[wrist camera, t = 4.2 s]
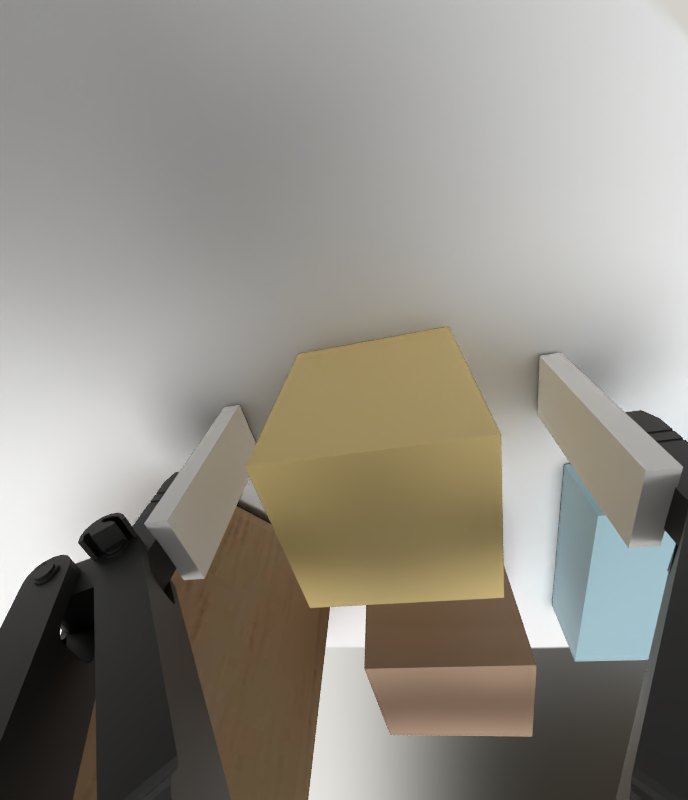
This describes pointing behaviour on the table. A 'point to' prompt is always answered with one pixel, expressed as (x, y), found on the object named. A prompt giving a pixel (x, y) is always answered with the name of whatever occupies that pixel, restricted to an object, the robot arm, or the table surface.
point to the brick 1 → (384, 474)
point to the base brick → (604, 581)
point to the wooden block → (250, 665)
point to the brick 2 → (452, 667)
